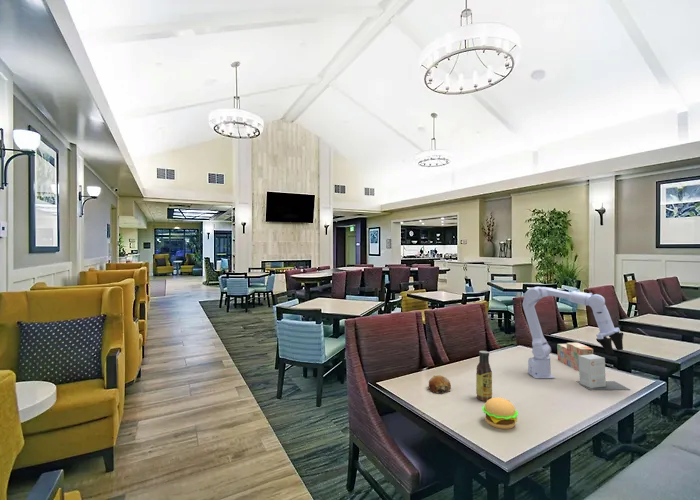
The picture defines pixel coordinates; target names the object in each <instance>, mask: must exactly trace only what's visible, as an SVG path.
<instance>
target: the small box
mask: <svg viewBox="0 0 700 500" xmlns="http://www.w3.org/2000/svg"><path fill="white" fill-rule="evenodd" d="M578 374H579V381H580V384H582V385H585V386H587V387H589V388H597V387H606V381H607V379H606V358H605V357H602V356H599V355H596V354H594V353H593V354H591V355H580V356H579V371H578ZM580 384H579V385H580ZM582 385H581V386H582Z"/></svg>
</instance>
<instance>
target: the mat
mask: <svg viewBox="0 0 700 500" xmlns="http://www.w3.org/2000/svg"><path fill="white" fill-rule="evenodd" d="M575 382H576V384H579V385H580V386H582V387H583V388H586V389H587V390H588V391H631V389H630V388H628V387H627V386H625V385H623V384H621V383H619V382H617V381H615V380H606V387H597V388H589V387H587V386H585V385H582V384H580V380H576V381H575Z"/></svg>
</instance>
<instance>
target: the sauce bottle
mask: <svg viewBox="0 0 700 500" xmlns="http://www.w3.org/2000/svg"><path fill="white" fill-rule="evenodd" d="M478 355H479V356H478V357H479V358H478V359H479V362H478V364H477V366H476V372H475V373H476V375H475V376H476V377H475V378H476V379H475V380H476V382H475V383H476V385H475V387H476V389H475V390H476V391H475V394H476V398H477V400H480V401H482V402H487V400H489V399H491V398H493V371H492V368H491V364H490V360H489V357H490V352H489V351H487V350H479V351H478Z"/></svg>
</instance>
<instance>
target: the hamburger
mask: <svg viewBox="0 0 700 500" xmlns="http://www.w3.org/2000/svg"><path fill="white" fill-rule="evenodd" d="M482 411H483V413H484V414H485V417H484V419H485V421H486V422H487V424H488V425H490V426H491V427H494V428H496V429H502V430H508V429H512V428H514V427H515V425H516V423H517V422H518V416H519V411H518V410H516V407H515V406H514V404H513V403H512V402H510V400H508V399H506V398H503V397H492V398H491V399H489V400H487V401H485V403H484V405H483V406H482Z"/></svg>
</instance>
